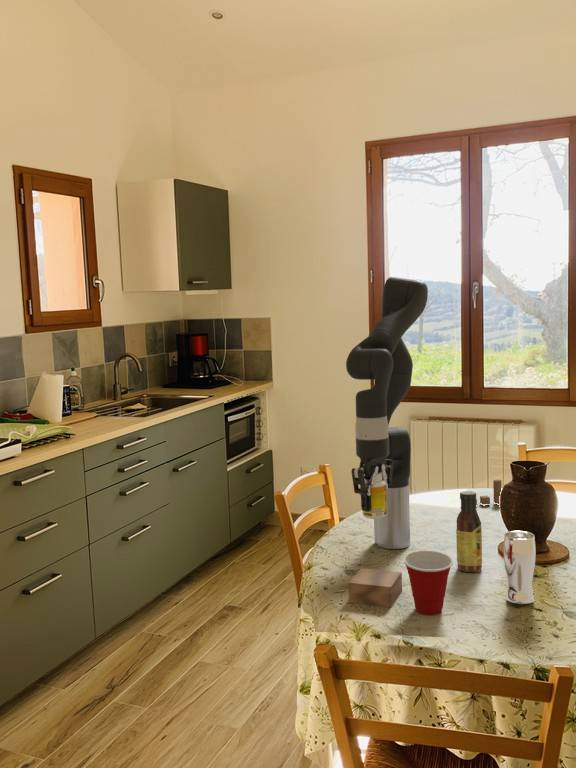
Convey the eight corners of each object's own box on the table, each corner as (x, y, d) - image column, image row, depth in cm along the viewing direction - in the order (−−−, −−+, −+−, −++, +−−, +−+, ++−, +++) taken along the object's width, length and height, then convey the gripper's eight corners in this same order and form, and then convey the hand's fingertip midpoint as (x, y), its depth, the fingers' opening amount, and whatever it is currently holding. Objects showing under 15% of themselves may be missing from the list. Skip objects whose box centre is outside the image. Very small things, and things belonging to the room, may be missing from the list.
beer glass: (531, 607, 166) (531, 541, 165) (500, 601, 170) (499, 537, 168) (539, 596, 172) (538, 532, 171) (508, 591, 176) (508, 528, 174)
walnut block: (349, 603, 173) (348, 582, 173) (361, 588, 182) (361, 568, 182) (391, 608, 169) (391, 587, 169) (402, 592, 178) (401, 572, 178)
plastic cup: (411, 622, 161) (410, 568, 160) (399, 603, 171) (397, 551, 170) (460, 618, 162) (459, 564, 161) (445, 599, 172) (444, 548, 171)
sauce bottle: (482, 574, 188) (481, 496, 186) (457, 573, 189) (455, 496, 187) (481, 565, 194) (480, 489, 192) (456, 564, 195) (455, 489, 193)
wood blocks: (512, 509, 246) (512, 478, 245) (515, 511, 243) (515, 480, 242) (438, 514, 243) (437, 483, 242) (440, 516, 240) (440, 485, 239)
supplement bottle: (390, 518, 172) (389, 474, 171) (367, 520, 171) (365, 476, 170) (381, 512, 177) (380, 469, 176) (359, 514, 176) (358, 471, 175)
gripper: (367, 442, 164) (370, 517, 166) (402, 432, 175) (404, 503, 177) (340, 439, 169) (342, 512, 171) (375, 430, 180) (377, 499, 182)
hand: (374, 507), depth 174 cm, fingers closed on supplement bottle, 5 cm apart
